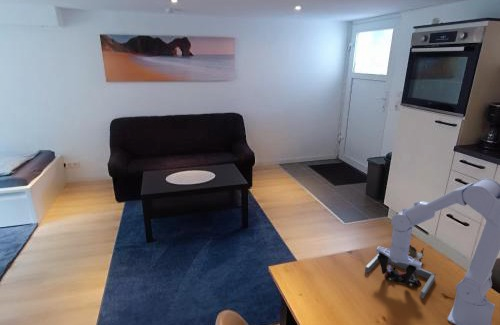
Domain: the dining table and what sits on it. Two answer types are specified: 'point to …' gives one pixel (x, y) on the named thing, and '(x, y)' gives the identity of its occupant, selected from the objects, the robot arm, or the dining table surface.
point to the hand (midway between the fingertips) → (394, 277)
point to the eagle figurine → (414, 254)
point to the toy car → (401, 277)
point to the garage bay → (420, 272)
